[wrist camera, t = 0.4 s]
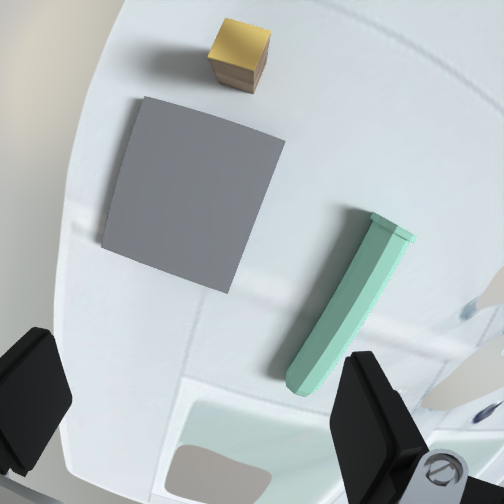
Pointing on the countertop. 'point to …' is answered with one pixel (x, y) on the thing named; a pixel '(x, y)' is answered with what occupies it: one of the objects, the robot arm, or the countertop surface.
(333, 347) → the container
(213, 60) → the block
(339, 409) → the robot arm
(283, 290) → the countertop surface
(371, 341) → the countertop surface
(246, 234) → the board
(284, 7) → the countertop surface
